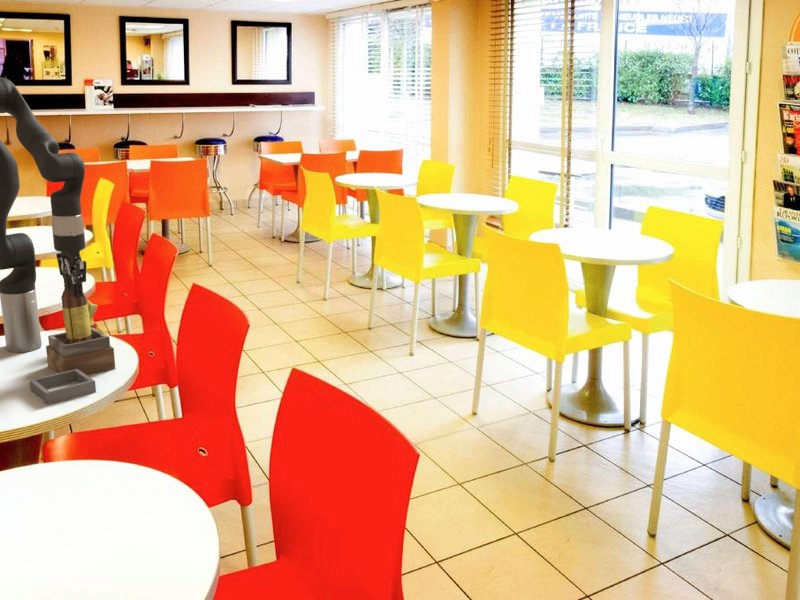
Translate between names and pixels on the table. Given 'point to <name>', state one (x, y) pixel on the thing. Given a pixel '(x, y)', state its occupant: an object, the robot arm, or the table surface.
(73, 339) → the sauce bottle
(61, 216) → the robot arm
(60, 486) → the table surface
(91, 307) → the chocolate bunny
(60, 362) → the walnut dock
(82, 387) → the low holder
